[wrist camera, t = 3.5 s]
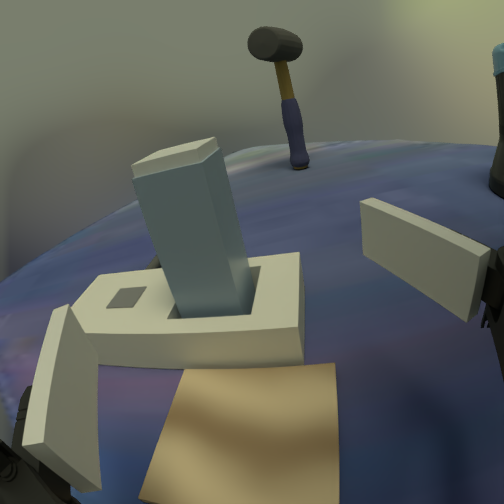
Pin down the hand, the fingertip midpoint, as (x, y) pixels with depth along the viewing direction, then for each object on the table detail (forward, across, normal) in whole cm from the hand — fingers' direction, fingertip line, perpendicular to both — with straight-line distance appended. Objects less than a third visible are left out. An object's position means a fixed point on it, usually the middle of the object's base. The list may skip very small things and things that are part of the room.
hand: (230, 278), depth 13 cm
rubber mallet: (+48, +28, -10) cm, 56 cm away
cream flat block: (+15, -1, -9) cm, 18 cm away
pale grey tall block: (+9, 0, -10) cm, 13 cm away
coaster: (-1, -2, -9) cm, 10 cm away
